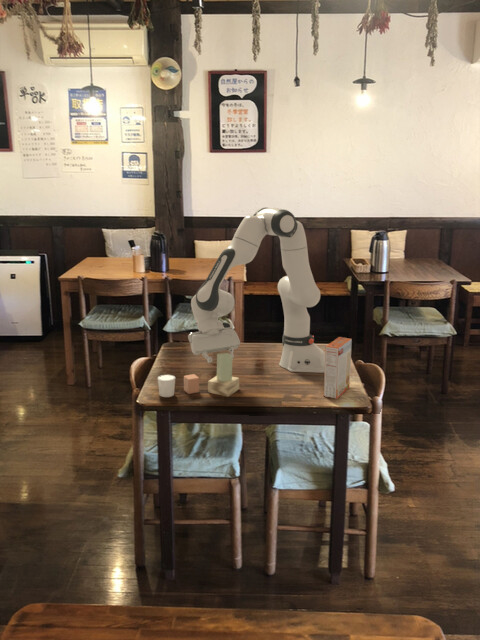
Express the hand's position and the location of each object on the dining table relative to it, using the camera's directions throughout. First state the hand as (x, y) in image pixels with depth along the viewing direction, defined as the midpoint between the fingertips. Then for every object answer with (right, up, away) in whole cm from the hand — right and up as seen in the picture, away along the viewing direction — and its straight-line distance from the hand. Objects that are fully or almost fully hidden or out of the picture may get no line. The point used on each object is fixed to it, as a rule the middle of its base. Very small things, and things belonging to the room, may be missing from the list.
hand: (221, 360), depth 242 cm
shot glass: (-21, -13, -3) cm, 25 cm away
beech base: (+1, -12, +1) cm, 12 cm away
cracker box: (+45, -13, +1) cm, 47 cm away
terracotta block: (-12, -12, 0) cm, 17 cm away
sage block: (+1, -7, 0) cm, 8 cm away
